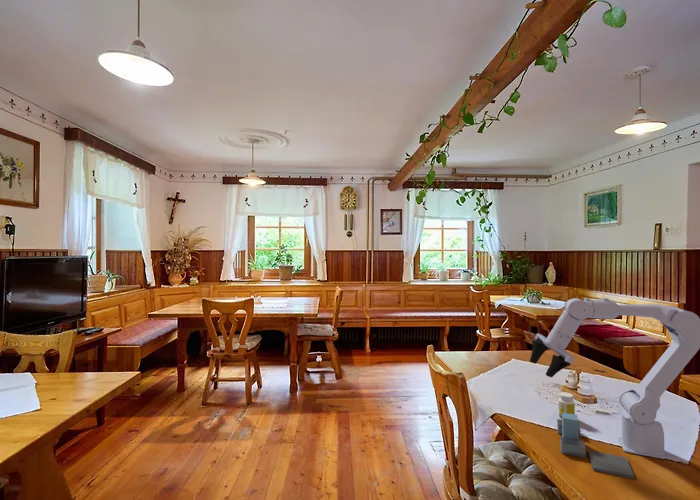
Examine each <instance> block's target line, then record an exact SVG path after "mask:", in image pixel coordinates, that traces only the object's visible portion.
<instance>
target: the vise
mask: <svg viewBox="0 0 700 500" xmlns="http://www.w3.org/2000/svg"><path fill="white" fill-rule="evenodd" d="M556 422H557V425H556V427H557V428H556V429H557V433H558V434H559V435H562V419H561V418H557V419H556ZM580 438H581V428H580V426H579V440H576V439H570V438H565V437H562V436H560V437H559V441H560V444H559V446H560V453H561V454H563V455H568V456H572V457H578V458H583V459H586V458H587V457H586V456H587V453H586V450H587V449H586V445H585V441H584V440H581V439H580Z"/></svg>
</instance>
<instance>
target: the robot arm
mask: <svg viewBox="0 0 700 500" xmlns="http://www.w3.org/2000/svg"><path fill="white" fill-rule="evenodd" d="M563 308H564V310H563V311H562V313H561V315H560V316H559V317H558V319H557V321H556V323H555V324H554V326H553V328H552V329H551V331H550V332H549V334H548V336H547V337H546V336H544V335H543V334H541V333H536V335H535V336H534V339H532V341H531V343H532V350H531V355H530V357H529V362H530V363H533V364H536V363H538V361H539V360H540V358H541V357H542V355H544V353H545V352H546V351H548V349H550V350H551V351H552V352H554V353H555V354H552V357H551V358H552V359H551V361H550V362H551V363H550V364H549V367H548V368H547V370H546V372H545V376H546V377H549V378H553V377H554V376H555V375H556V374H557V373H559V371H561V370H563V369H564V368H567V367H569V366H571V364H572V363H573V362H574V360H575V358H574V356H573V355H571V354H570V353H569V352H568V351H567V350H566V348H567V347H568V345H569V343H570V342H571V340H572V339H573V337H574V335H575V333H576V332H577V330H578V329H579V327H580V325H581V324H582V321H583V320H586V319H588V318H589V319H602V320H614V319H616V318H617V317H619V316H628V317H631V316H632V317H642V318H653V319H655V320H656V321H659V322H660V323H661V324H662V325H663V326H664V328H665V329H666V330H667V331H668V334H669V336H670V337H671V341H672V343H670V345H669V346H668V347H667V349H666V350H665V351H664V353H663V354H662V355H661V356H660V357H659V359H658V360H657V361H656V362H655V364H654V365H653V366H652V367H651V369H650V370H649V371H648V372H647V374H645V376H644V377H643V379H642V380H641V381H640V383H637V384H634V385H632V386H631V387H630V388H629V389H627V390H626V391H623V392H621V394H620V395H619V397H618V398H619V399H618V400H619V404H620V405H621V407H623V410H622V413H621V437H618V438H617V439H618V442H619V443H620V445H621V447H622V450H623V451H624V452H626V453H629V454H630V453H631V454H635V455H641V456H645V457H646V456H647V457H652V458H657V459H660V460H661V459H662V460H665V459H666V456H665V433H664V427H663V424H662V423H661V422H660V421H657V420H656V418H657V412H658V410H659V409H660V408H661V396H662V395H663V394H664V393H665V392H666V390H667V389H668V388H669V387H670V385H672V383H673V382H674V380H675V379H676V378H677V377H678V375H679V374H681V372H682V371H683V369H684V368H685V367H686V366H687V365H688V364H689V362H690V361H691V359H693V358H694V356H695V355H696V354H697V352H698V351H699V350H700V316H698V315H697V314H696V313H694V312H692V311H689V310H686V309H682V308H680V307H678V306H674V305H668V306H667V305H664V304H655V303H654V304H653V303H651V304H650V303H649V304H645V303H643V304H636V303H635V304H627V303H626V304H622V303H620V304H618V303H617V302H616V301H614V300H613V299H609V298H608V297H602V299H590V298H589V297H584V298H583V299H580V298H577V297H576V298H575V297H574V298H570V299H568V300H567V301H565V302H564V306H563Z"/></svg>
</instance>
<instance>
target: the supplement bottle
mask: <svg viewBox="0 0 700 500" xmlns="http://www.w3.org/2000/svg"><path fill="white" fill-rule="evenodd" d="M575 408H576V407H575V401H574V395H573V394H572V393H569V392H565V391H564V392H563V391H562V392H560V393H559V398H558V417H559V419H560V420H562V413H568V414H574V415H576V412H575V410H576V409H575Z"/></svg>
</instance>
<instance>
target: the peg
mask: <svg viewBox="0 0 700 500" xmlns="http://www.w3.org/2000/svg"><path fill="white" fill-rule="evenodd" d="M561 420H562V434H561V435H562V436H561V437H565V438H570V439H576V440H580V438H579V427H580V423H579V417H578V415H577V414H575V415H574V414H568V413H562V419H561Z"/></svg>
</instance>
